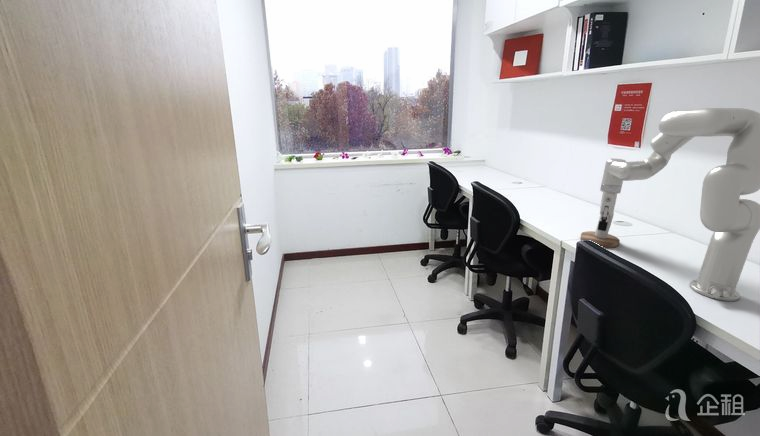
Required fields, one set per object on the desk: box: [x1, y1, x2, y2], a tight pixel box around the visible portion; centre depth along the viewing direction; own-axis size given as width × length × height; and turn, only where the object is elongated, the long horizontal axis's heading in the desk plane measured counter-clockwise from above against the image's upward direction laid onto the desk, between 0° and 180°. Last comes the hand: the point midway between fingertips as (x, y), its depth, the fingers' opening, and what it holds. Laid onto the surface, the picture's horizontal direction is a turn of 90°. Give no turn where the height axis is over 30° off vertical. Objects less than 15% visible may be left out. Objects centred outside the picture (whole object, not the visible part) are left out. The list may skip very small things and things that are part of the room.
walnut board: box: [579, 230, 621, 249], centre depth 165 cm, size 15×15×2 cm
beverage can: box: [594, 212, 615, 239], centre depth 162 cm, size 5×5×12 cm
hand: (602, 227), depth 163 cm, fingers open, 6 cm apart
